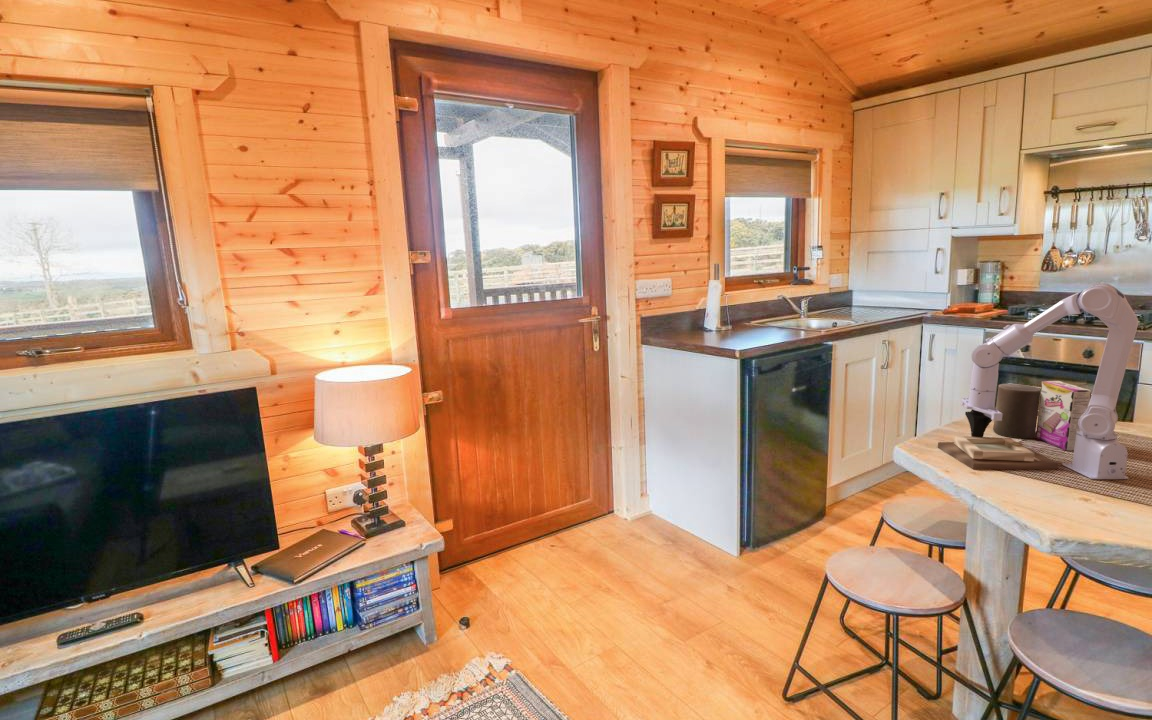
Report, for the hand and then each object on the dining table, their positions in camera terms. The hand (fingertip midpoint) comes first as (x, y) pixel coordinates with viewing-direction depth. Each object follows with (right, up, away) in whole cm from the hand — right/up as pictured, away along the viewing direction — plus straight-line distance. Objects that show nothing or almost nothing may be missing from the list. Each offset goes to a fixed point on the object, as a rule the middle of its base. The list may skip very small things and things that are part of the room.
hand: (976, 439), depth 155 cm
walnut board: (+1, -4, -5) cm, 7 cm away
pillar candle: (+19, 0, +13) cm, 23 cm away
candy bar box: (+24, -2, +3) cm, 24 cm away
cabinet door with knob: (0, -2, -6) cm, 7 cm away
